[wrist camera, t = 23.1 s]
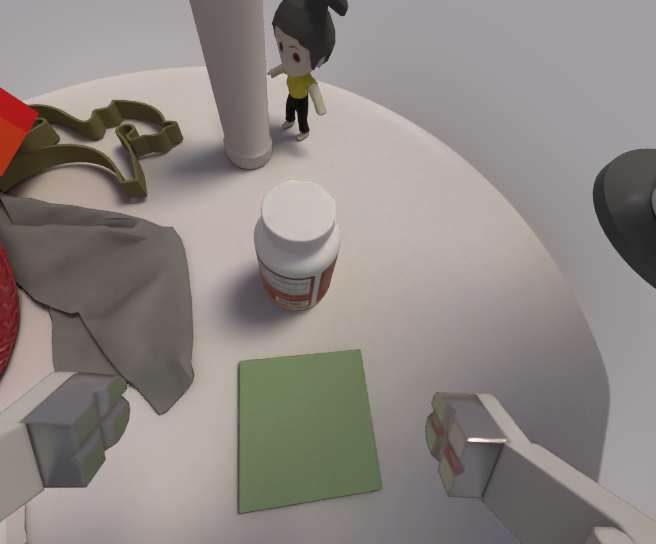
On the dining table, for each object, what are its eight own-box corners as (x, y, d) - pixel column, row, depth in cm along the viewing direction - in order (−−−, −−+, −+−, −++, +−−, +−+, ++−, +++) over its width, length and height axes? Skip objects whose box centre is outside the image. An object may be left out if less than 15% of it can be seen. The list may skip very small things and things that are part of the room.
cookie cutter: (158, 185, 28) (166, 199, 30) (183, 104, 34) (188, 120, 36) (-61, 176, 27) (-39, 192, 28) (4, 92, 32) (19, 110, 34)
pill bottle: (308, 241, 31) (317, 157, 21) (341, 291, 29) (368, 225, 19) (251, 268, 29) (230, 190, 19) (282, 324, 27) (278, 269, 17)
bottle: (234, 175, 33) (118, -324, 11) (220, 142, 35) (97, -346, 13) (279, 164, 35) (260, -300, 12) (264, 132, 37) (223, -322, 14)
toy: (259, 118, 37) (243, -49, 24) (292, 100, 39) (294, -63, 26) (308, 159, 36) (320, 2, 22) (340, 138, 38) (368, -18, 24)
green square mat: (359, 350, 27) (360, 349, 26) (380, 487, 23) (382, 489, 22) (240, 362, 25) (239, 361, 25) (240, 511, 21) (238, 514, 21)
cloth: (257, 345, 26) (254, 339, 24) (86, 470, 21) (64, 476, 19) (118, 151, 33) (106, 133, 31) (-35, 212, 28) (-61, 195, 26)
